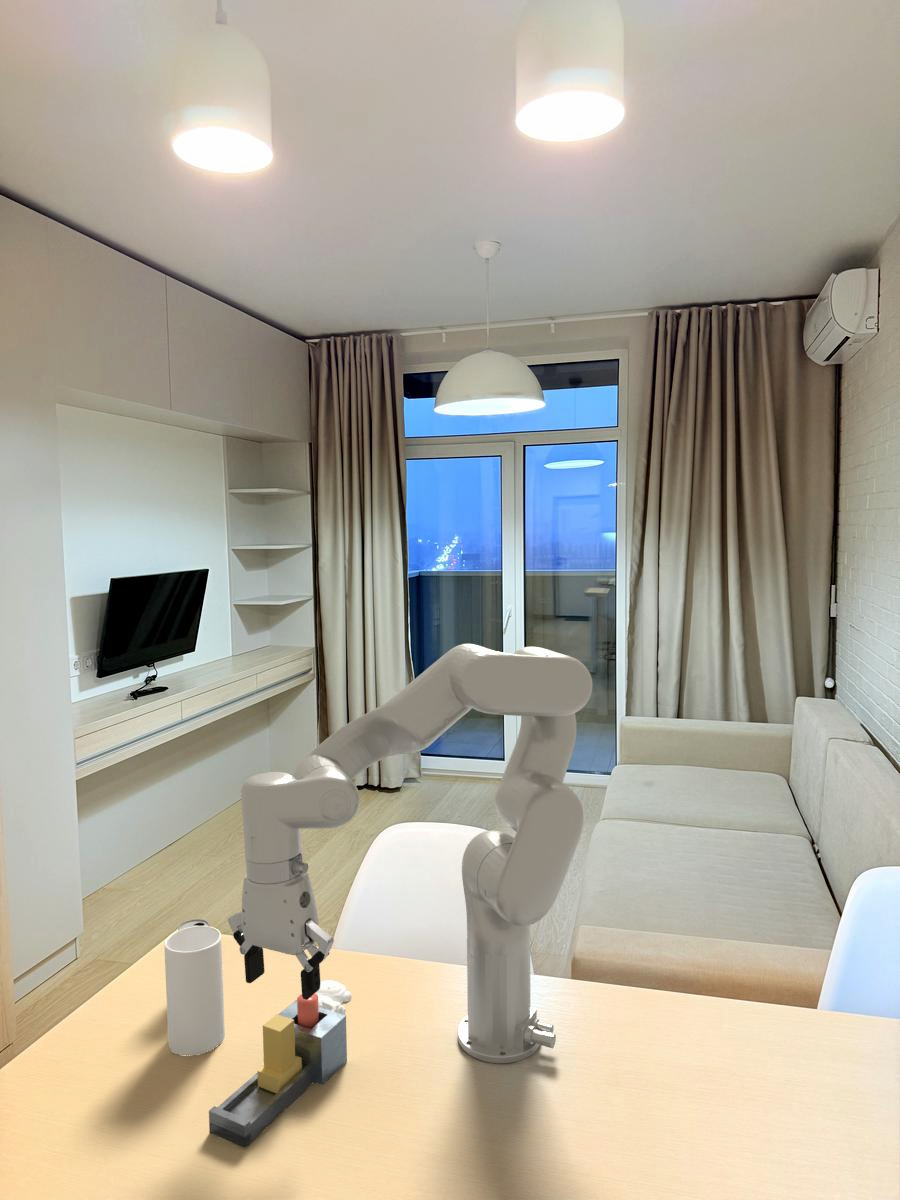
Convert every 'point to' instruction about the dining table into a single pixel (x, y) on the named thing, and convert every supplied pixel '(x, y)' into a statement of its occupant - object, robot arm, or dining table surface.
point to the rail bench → (260, 1107)
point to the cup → (194, 990)
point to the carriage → (278, 1054)
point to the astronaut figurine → (333, 996)
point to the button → (308, 1011)
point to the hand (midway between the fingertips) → (282, 986)
